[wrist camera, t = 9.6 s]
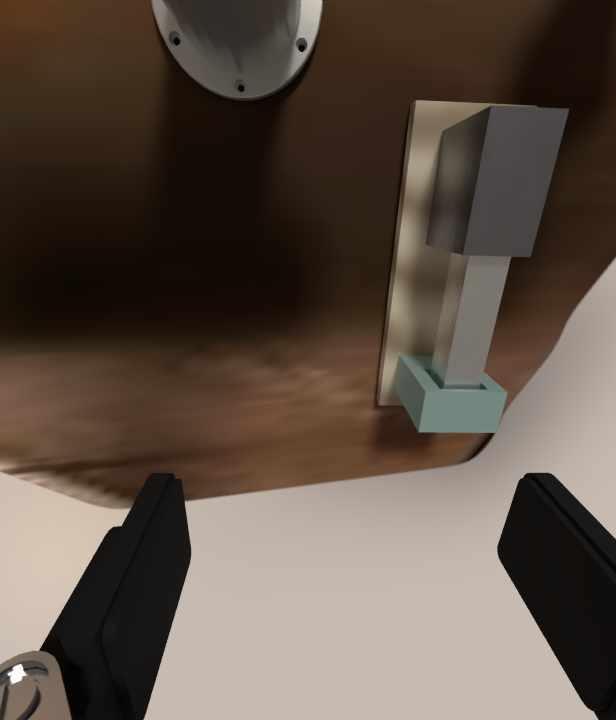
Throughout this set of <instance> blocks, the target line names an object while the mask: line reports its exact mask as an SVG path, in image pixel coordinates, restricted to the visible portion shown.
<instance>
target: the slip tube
mask: <svg viewBox="0 0 616 720" xmlns="http://www.w3.org/2000/svg"><path fill="white" fill-rule="evenodd" d="M510 260H511V257H507V256H469V255H460V254H456V253H453V252H452V253H451V259H450V264H449V270H448V276H447V281H446V287H445V293H444V298H443V304H442V310H441V315H440V321H439V326H438V332H437V338H436V343H435V349H434V355H433V360H432V366H431V372H430V377H431V379H432V380H433V381H434V382H435V384H436V385H437V386H438V387H439V389H474V390H479V389H480V385H481V380H482V376H483V372H484V368H485V364H486V360H487V355H488V351H489V347H490V343H491V339H492V335H493V331H494V326H495V322H496V318H497V314H498V310H499V306H500V301H501V297H502V293H503V289H504V285H505V281H506V276H507V272H508V268H509V264H510Z"/></svg>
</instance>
